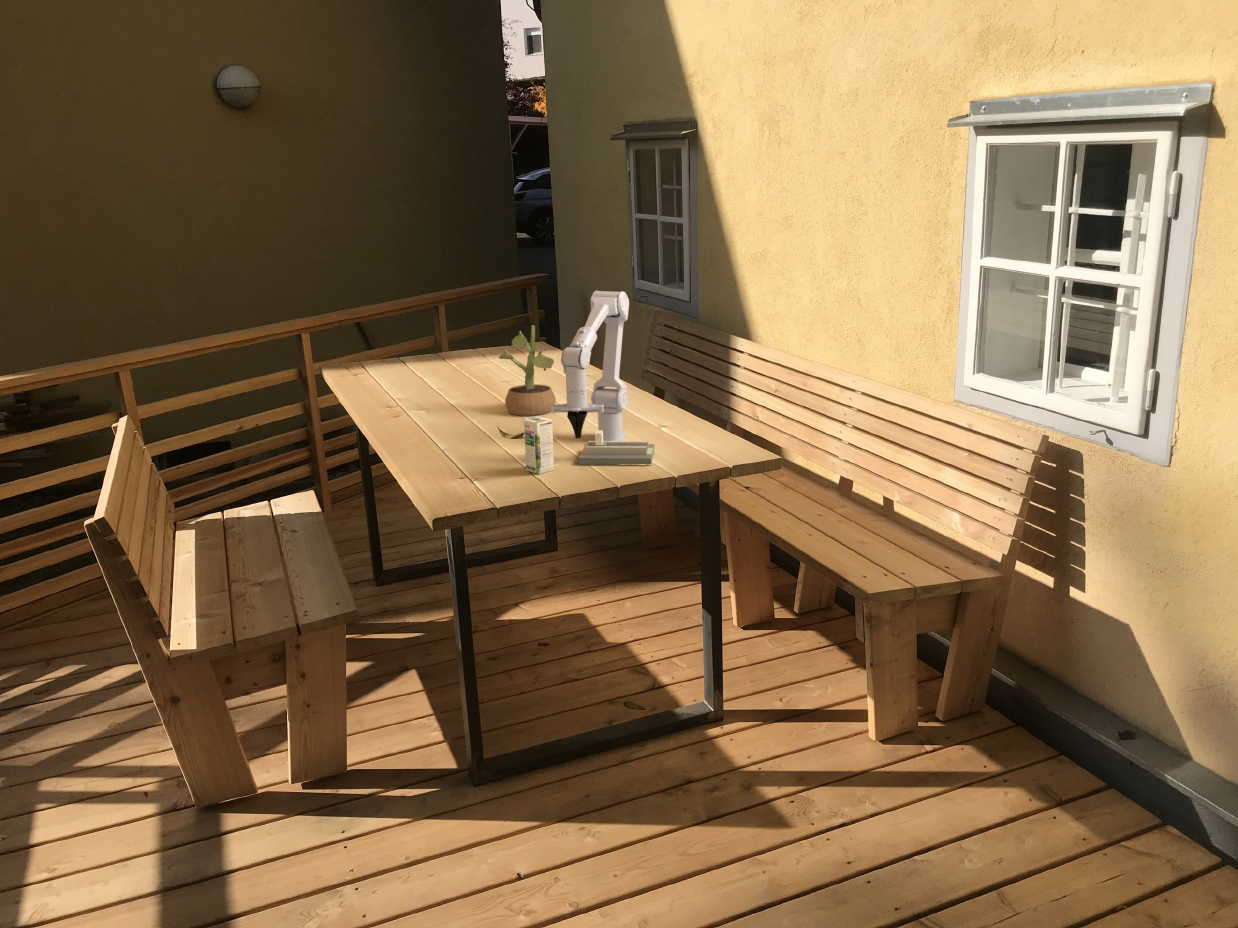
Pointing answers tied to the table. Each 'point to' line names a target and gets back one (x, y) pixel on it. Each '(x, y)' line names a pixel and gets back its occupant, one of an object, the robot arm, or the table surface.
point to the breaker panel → (617, 453)
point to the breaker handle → (599, 439)
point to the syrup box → (538, 444)
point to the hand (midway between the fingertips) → (578, 437)
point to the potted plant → (529, 382)
